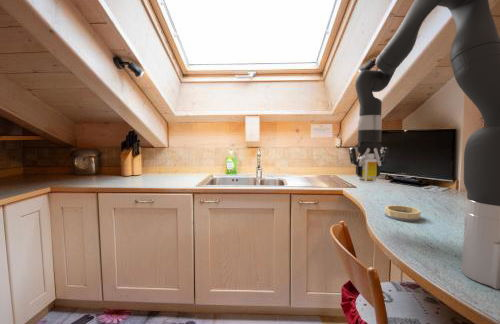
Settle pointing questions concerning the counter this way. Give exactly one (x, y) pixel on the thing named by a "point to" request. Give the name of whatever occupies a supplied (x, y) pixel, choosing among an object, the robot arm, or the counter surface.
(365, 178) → the supplement bottle
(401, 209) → the tan faceted ring
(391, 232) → the counter surface
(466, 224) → the robot arm
